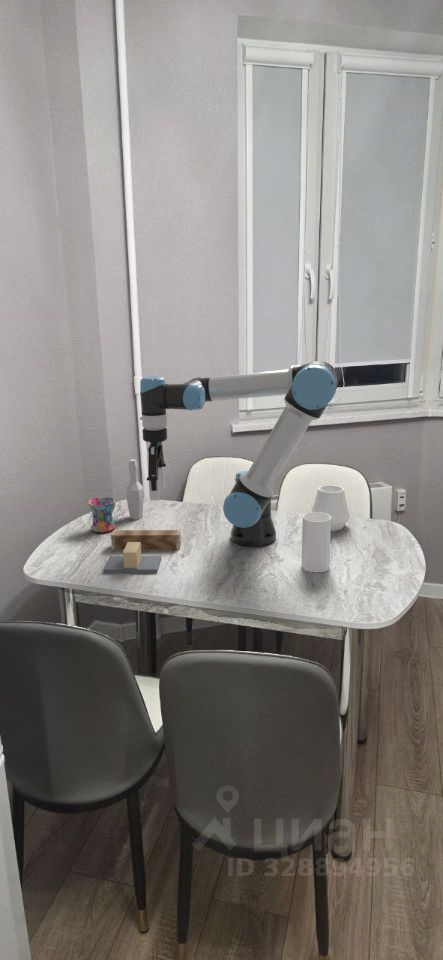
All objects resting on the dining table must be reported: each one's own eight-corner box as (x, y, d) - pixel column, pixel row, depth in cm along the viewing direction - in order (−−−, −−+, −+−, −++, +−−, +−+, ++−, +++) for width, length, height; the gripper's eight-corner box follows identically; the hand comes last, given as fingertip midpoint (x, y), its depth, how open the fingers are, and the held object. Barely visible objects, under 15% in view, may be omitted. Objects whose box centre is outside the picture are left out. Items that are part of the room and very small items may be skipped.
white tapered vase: (352, 533, 210) (354, 494, 206) (312, 533, 210) (314, 494, 206) (345, 519, 222) (346, 482, 218) (308, 519, 223) (309, 483, 219)
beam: (181, 544, 203) (180, 529, 201) (179, 549, 198) (179, 534, 197) (114, 544, 203) (113, 529, 202) (111, 549, 199) (110, 535, 198)
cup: (312, 575, 179) (313, 523, 174) (296, 564, 186) (297, 514, 181) (334, 569, 182) (336, 518, 178) (318, 559, 189) (319, 510, 185)
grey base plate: (161, 559, 191) (160, 540, 189) (157, 573, 182) (156, 553, 180) (110, 559, 192) (108, 540, 190) (103, 573, 182) (101, 553, 180)
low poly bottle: (125, 520, 225) (121, 462, 219) (130, 514, 231) (127, 457, 225) (142, 520, 224) (138, 462, 218) (146, 514, 230) (143, 458, 224)
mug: (106, 536, 211) (104, 506, 208) (84, 532, 215) (82, 503, 211) (126, 524, 221) (124, 496, 218) (105, 521, 225) (103, 493, 222)
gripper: (148, 420, 201) (151, 481, 207) (135, 436, 178) (139, 506, 184) (170, 419, 201) (173, 481, 207) (161, 436, 177) (165, 505, 183)
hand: (157, 493), depth 195 cm, fingers open, 13 cm apart
